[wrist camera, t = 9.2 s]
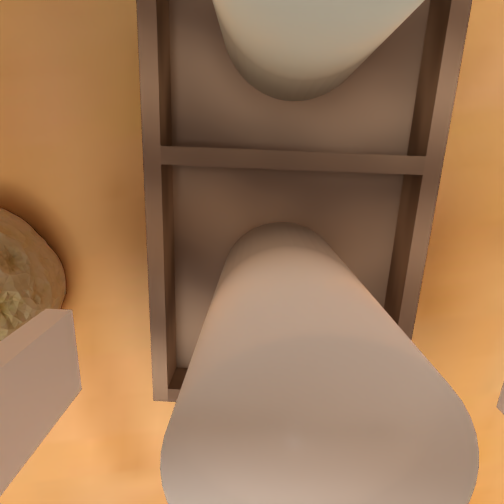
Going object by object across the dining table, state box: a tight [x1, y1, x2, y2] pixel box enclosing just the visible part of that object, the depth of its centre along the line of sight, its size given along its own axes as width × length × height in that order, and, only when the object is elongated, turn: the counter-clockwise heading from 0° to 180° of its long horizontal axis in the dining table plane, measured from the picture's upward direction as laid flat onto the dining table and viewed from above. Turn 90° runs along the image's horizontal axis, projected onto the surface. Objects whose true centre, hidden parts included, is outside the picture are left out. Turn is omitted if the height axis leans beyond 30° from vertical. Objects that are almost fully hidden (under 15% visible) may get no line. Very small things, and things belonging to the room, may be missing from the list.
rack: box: [136, 0, 472, 402], centre depth 16 cm, size 26×13×3 cm, turn 178°
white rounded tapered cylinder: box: [160, 222, 479, 504], centre depth 13 cm, size 6×6×12 cm
